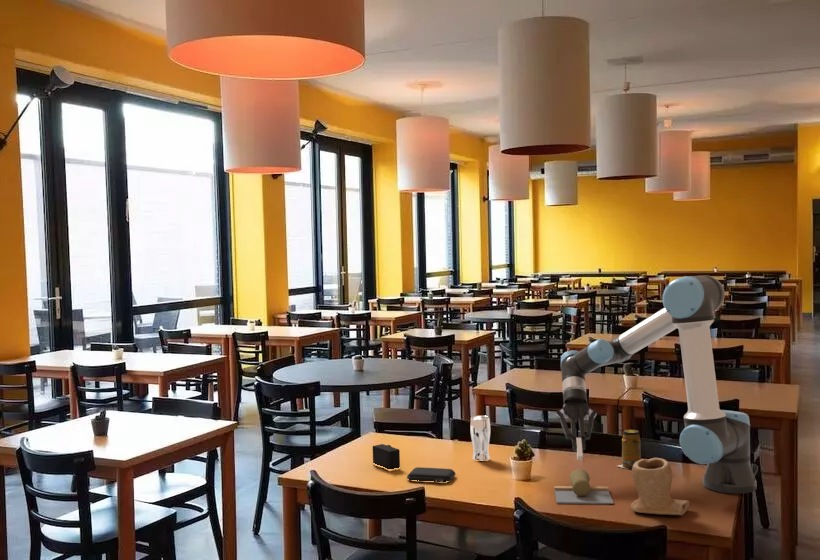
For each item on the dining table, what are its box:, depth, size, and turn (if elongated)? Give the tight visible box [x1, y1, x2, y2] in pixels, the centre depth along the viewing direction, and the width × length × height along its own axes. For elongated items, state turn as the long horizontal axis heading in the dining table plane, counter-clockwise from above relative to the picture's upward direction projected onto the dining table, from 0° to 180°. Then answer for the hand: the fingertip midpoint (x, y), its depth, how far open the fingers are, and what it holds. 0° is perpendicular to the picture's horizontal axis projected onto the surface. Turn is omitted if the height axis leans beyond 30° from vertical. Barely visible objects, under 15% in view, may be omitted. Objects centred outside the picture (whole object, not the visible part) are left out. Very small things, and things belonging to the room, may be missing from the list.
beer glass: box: [470, 415, 491, 461], centre depth 278 cm, size 7×7×15 cm
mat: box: [553, 485, 614, 505], centre depth 234 cm, size 13×16×1 cm
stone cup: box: [630, 457, 690, 516], centre depth 218 cm, size 15×12×15 cm
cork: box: [569, 468, 591, 497], centre depth 237 cm, size 6×6×11 cm
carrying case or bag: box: [406, 466, 456, 482], centre depth 256 cm, size 11×3×15 cm
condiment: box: [617, 429, 642, 470], centre depth 264 cm, size 7×8×12 cm
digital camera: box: [372, 443, 401, 469], centre depth 272 cm, size 10×5×7 cm, turn 36°
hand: (580, 458), depth 241 cm, fingers closed
